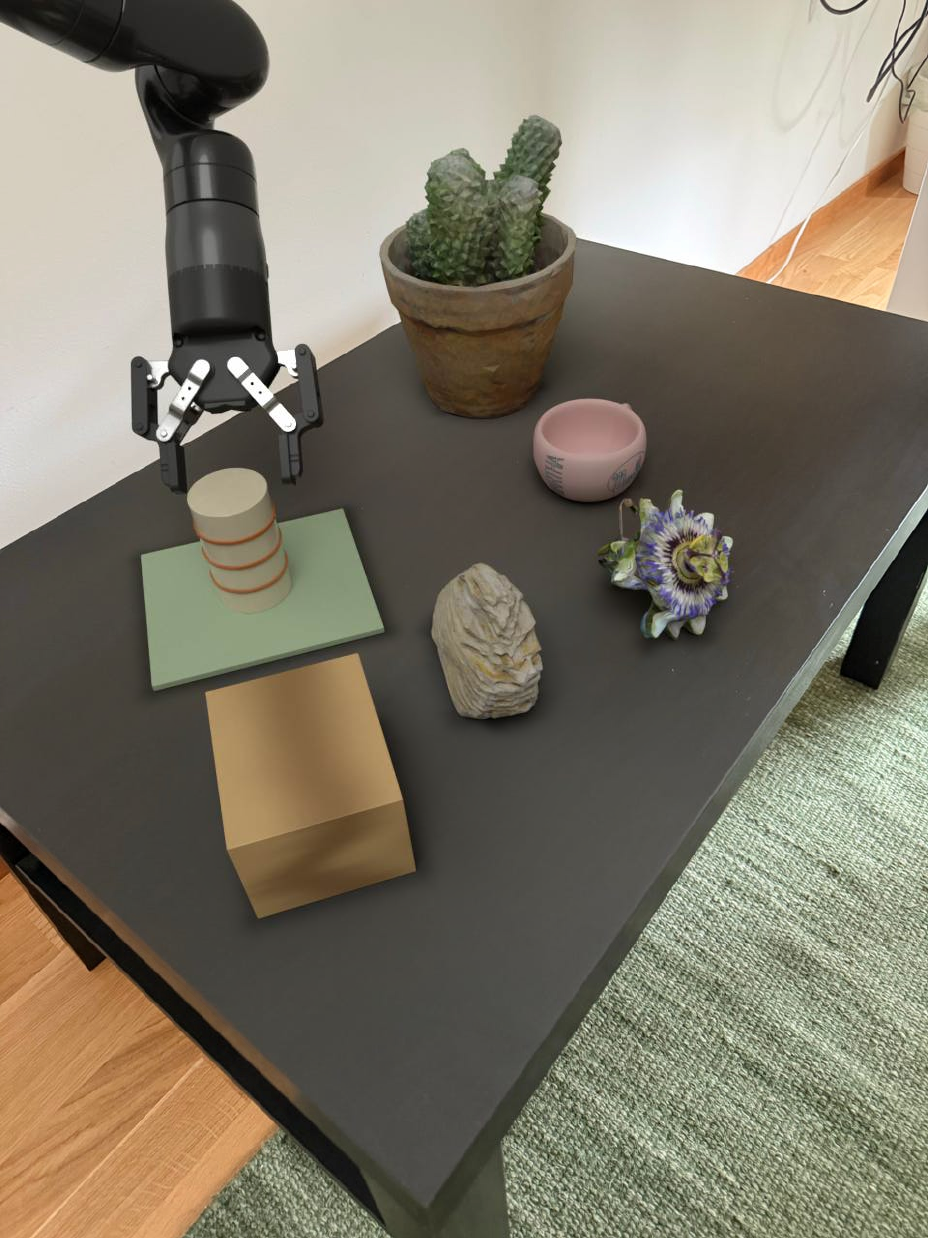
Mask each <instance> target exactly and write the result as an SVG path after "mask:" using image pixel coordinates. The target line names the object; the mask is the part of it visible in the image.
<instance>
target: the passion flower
mask: <svg viewBox="0 0 928 1238" xmlns="http://www.w3.org/2000/svg"><path fill="white" fill-rule="evenodd" d="M682 502H683V490H681V489H677V490H675V491H674V492H673V493H672V494H671V495H670V496H669V498H668V500H667V502H666V509H665V512H664V511H662V512H660V509H659V508H658V507H657V506H654V505H653V503H652V500H651V499H649V498H643V497H641V498H639V500H638V507H639V509H638V507H637V506H636V505H635V503H634V501H633V499H632V498H623V499H622V501H621V503H620V504H619V506H618V526H619V527H618V530H619V536H618V537H617V538H615V539H614V540H612V541H611V542H609V543H607V544H606V545H604V546H601V548H600V549H599V550H598V551H597V553H596V555H597V557H601V556H602V558H601V559H598V560H597V563H598V564H599V565H600V566H602V568H604V569H607V570H608V572H610V578H611V579H610V584H611V586H615V587H616V588H620V589H627V590H633V591H638V590H641V591H642V590H643V591H646V592H648V593H649V594H650V595H651V597H652V602H651V605H650V607H649V609H648V610H647V612H645V613H644V615H643V616H642V619H641V622H640V631H641V634H642V636H643V637H644V638H645V639H646V640H654V639H657V638H659V636H660V635H661V634H662V633H663V631H664V632H665V633H666V635H668V636H669V638H671V639H672V640H674V641H677V639H678V638H679V635H680V633H681V632H680V631H681V629H682V628H683V627H684V628H685V629H686V630H687V631H688V632H690V633H691V634H693V635H696V636H701V635H702V634H703V632H704V630H705V628H706V619H707V616H708V615H709V614H710V611H711V610H712V606H714V605H716V604H717V602H721V601H722V602H723V601H725V600H727V599H728V597H729V594H728V590H727V585H728V583H729V582H731V581H732V579H730V578H729V575H730V573H736V572H735V570H731V567H729V559H728V558H729V557H730V556H731V553H730V550H731V549H732V547H733V543H734V540H733V537H730V536H728V535H727V536H724V535H723V533H722V531H721V530H719V529H718V526H716V527H715V528H713V527H714V523H715V522H714V521H715V515H714V513H711V512H700V513H698V514H696V510H693V509H691V510H690V511H689V513H687V514H686V512H687V509H686V508H685V509H684V506H683V504H682ZM623 505H625V507H626V508H627V509H628V508H629V509H630V512H631V514H632V516H633V517H636V516H637V514H638V512H639V514H638V515H639V521H640V530H639V531H636V530H635V531H634V534H633V539H631V538H627V537H624V535H623V534H624V533H623V532H624V531H623V525H624V524H623V519H622V518H623ZM695 514H696V515H695ZM618 551H619V554H618ZM607 554H608V556H607V557H606V556H604V555H607ZM614 561H615V562H616V564H615V565H612V563H613V562H614Z"/></svg>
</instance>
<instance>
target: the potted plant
mask: <svg viewBox="0 0 928 1238" xmlns="http://www.w3.org/2000/svg"><path fill="white" fill-rule="evenodd" d="M517 128H518V129H517V131H516V132H513V133H512V138H510V141H511V147H509V148H507V149H506V154H507V157H504V163H500V164H498V167H499V170H498V171H496V170H495V171H492V175H493V179H486V176H487V175H486V174H487V171H485V169H483V168H482V167H481V164H480V163H477V162H476V160H475V159H474V158H473V157H472V156H471V155H470V152H469V150H468V149H466V148H465V147H459V148H457V149H453V150H451V151H450V152H449V153H447V154H446V155H444V156H442V157H439V158H437V159H434V160H433V161H431V162H430V166H429V168H428V170H427V172H426V176H427V181H426V182H425V185H424V187H423V189H424V190H425V192H426V195H425V196H424V198H425V200H426V201H427V202H428V204H427V205H426V208H423V209H421V210H419V211H418V212H415V213H414V212H412V215H411V216H410V217H409V218H408V220H405V223H404V224H403V225H401V226H399V227H397V228H396V229H394V230H393V231H392V232H390V233H389V234H388V235H387V236H385V238H384V239H383V241H382V243H380V246H379V253H378V255H379V256H378V257H379V261H380V265H381V270H382V274H383V277H384V283H385V287H386V290H387V293H388V297H389V300H390V303H391V305H393V307H394V308H395V309H396V310H397V313H398V316H399V319H400V322H401V325H402V329H403V331H404V334H405V337H406V340H407V342H408V345H409V347H410V351H411V353H412V355H413V358H414V360H415V362H416V365H417V367H418V369H419V372H420V374H421V377H422V380H423V382H424V385H425V387H426V389H427V392H428V395H429V397H430V398H431V400H432V401H433V402H434V404H435V405H436V406H437V407H439V408H440V410H441V411H442V412H444V413H445V412H446V413H449V414H453V415H456V416H461V417H465V418H468V419H494V418H500V417H504V416H508V415H511V414H514V413H516V412H519V411H521V410H522V409H523V408H525V406H527V405H528V404H529V403H531V401H532V399H533V397H534V396H535V394H536V393H537V390H538V389H539V386H540V383H541V380H542V377H543V373H544V371H545V368H546V365H547V363H548V359H549V356H550V353H551V351H552V347H553V344H554V341H555V338H556V337H555V336H556V333H557V329H558V326H559V323H560V321H561V319H562V318H563V314H564V313H563V312H564V308H565V307H564V306H565V302H566V299H567V297H568V295H569V293H570V291H571V289H572V287H573V285H574V270H575V253H576V247H577V244H578V238H577V235H576V233H575V231H574V230H573V228H572V227H570V226H568V225H567V224H565V223H564V222H562V221H561V220H559V219H558V218H556V217H555V216H553V215H552V214H551V215H550V214H547V213H545V212H542V211H544V207H545V206H544V203H545V202H546V201H547V199H548V197H549V195H550V193H551V191H552V190H551V189H550V188H549V187H548V186H547V185H548V184H549V182H551V180H552V178H551V177H552V176H553V173H552V171H554V169H556V167H557V164H555V160H557V159H559V156H560V148H561V146H563V139H562V135H561V131H560V127H558V126H557V125H555V124H554V123H553V122H551V121H549V120H547V119H545V118H543V117H542V116H540V115H538V114H531V115H530V114H529V116H528V118H523V119H522V122H521V124H519V125H518V127H517Z"/></svg>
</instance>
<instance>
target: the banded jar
mask: <svg viewBox="0 0 928 1238" xmlns="http://www.w3.org/2000/svg"><path fill="white" fill-rule="evenodd" d="M271 497H272V496H271V493H270V490H269V486H268V483H267V480H266V479H265V477H264V476H263V475H262V474H260V473H259V472H257V471H256V470H252V469H249V468H246V467H245V468H243V467H230V468H223V469H220V470H216V471H212V472H211V473H208V474H206V475H204V476H202V477H201V478H200V479H198V480H197V481H195V483H194V484H192V486H191V487H190V489H189V490H188V491H187V496H186V503H187V505H188V508H189V511H190V514H191V517H192V525H193V530H194V532H195V534H196V535H197V536H198V538H199V541H201V544H202V553H203V556H204V558H205V559H206V561H207V562H208V565H209V568H210V576H211V579H212V581H213V583H214V584H215V585H216V588H217V591H218V594H219V597H220V600H221V602H222V603H223V604H224V605H225V606H226V607H227V608H228V609H230V610H232V611H235V612H239V613H257V612H262V611H265V610H268V609H270V608H272V607H274V606H276V605H278V604H279V603H280V602H282V601H283V600H284V599H285V598H286V597H287V595H288V594H289V592H290V590H291V586H292V579H291V575H290V571H289V567H288V556H287V553H286V551H285V550H284V548H283V544H282V532H281V530H280V528H279V526H278V525H277V523H278V521H277V517H276V516H277V509H276V506H275V503H274V502H273V500H272V499H271Z"/></svg>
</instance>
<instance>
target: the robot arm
mask: <svg viewBox="0 0 928 1238" xmlns="http://www.w3.org/2000/svg"><path fill="white" fill-rule="evenodd" d="M0 23H1V24H3V25H5V26H7V27H9V28H12V29H13V30H15V31H18V32H20V33H22V34H23V35H25V36H28V37H29V38H32V39H34V40H36V41H37V42H40V43H42V44H43V45H46V46H48V47H50V48H52V49H55V50H57V51H59V52H61V53H62V54H65V55H67V56H69V57H71V58H73V59H75V60H77V61H79V62H81V63H84V64H85V65H88V66H90V67H92V68H95V69H98V70H101V71H104V72H108V73H123V72H127V71H130V70H134V84H135V85H134V86H135V91H136V94H137V98H138V101H139V105H140V107H141V110H142V113H143V115H144V119H145V122H146V124H147V128H148V131H149V133H150V137H151V140H152V143H153V145H154V148H155V151H156V153H157V156H158V159H159V162H160V164H161V167H162V183H163V185H162V186H163V197H164V210H165V211H164V213H165V236H164V237H165V239H164V243H165V244H164V251H165V269H166V279H167V280H166V281H167V291H168V292H167V293H168V304H169V305H168V306H169V317H170V318H169V319H170V332H171V342H172V350H171V353H170V356H169V358H168V360H166V359H164V360H147V359H146V358H145V357H143V356H142V355H141V356H140V355H137V356H134V357H133V358H132V359H131V361H130V399H131V400H130V402H131V403H130V404H131V406H130V409H131V430H132V432H133V433H134V434H135V435H137V436H139V437H141V438H143V439H144V440H146V441H149V442H155V443H156V444H157V445H158V451H159V453H158V454H159V462H160V464H159V465H160V478H161V480H162V483H163V485H164V486H166V487H169V490H170V492H171V493H173V494H175V495H186V494H187V495H188V480H187V468H186V454H185V453H186V452H185V447H184V446H183V445H181V444H182V442H183V440H184V439H185V438H186V436H187V434H189V431H190V429H191V428H192V427H193V426H195V425H196V424H198V421H200V418H201V417H202V415H203V413H204V411H205V412H206V413H209V414H211V415H219V414H225V413H227V412H230V411H235V412H239V413H247V412H252V410H253V409H254V408H256V407H257V406H259V405H260V406H261V408H263V410H264V411H265V412H266V413H267V414H268V415H269V416H270V417H271V418H272V420H273V421H274V422H275V423H276V424H277V425H278V426H279V428H280V433H281V434H280V433H279V434H278V435H277V437H278V438H277V439H278V452H279V464H280V465H279V466H280V476H281V483H282V485H284V486H285V487H296V486H297V479H301V478H302V476H303V473H304V465H303V450H302V437H303V435H304V434H305V433H306V432H308V431H310V430H312V429H319V428H322V426H323V425H324V422H325V418H324V411H323V410H324V409H323V403H322V397H321V389H320V388H321V387H320V381H319V374H318V368H317V362H316V361H317V360H316V356H315V355H314V352H313V351H312V350H311V348H310V346H308V345H307V344H306V343H299V344H297V345H296V346H295V347H294V349H293V348H292V349H286V350H280V351H276V348H275V345H274V341H273V330H272V329H273V328H272V317H271V316H272V315H271V303H270V302H271V301H270V289H269V279H270V274H269V273H270V271H269V264H268V262H267V253H266V251H267V250H266V245H265V241H264V236H263V231H262V225H261V220H260V219H261V218H260V206H259V194H258V178H257V177H258V176H257V169H256V163H255V160H254V156H253V153H252V151H251V149H250V148H249V146H248V145H247V143H246V142H245V141H244V140H242V139H241V138H240V137H238V136H236V135H234V134H233V133H230V132H227V131H224V130H219V129H215V123H216V119H218V118H220V117H221V116H223V115H225V114H227V113H228V112H230V111H232V110H234V109H236V108H237V107H239V106H241V105H244V104H245V103H247V102H248V101H250V100H252V99H253V98H254V97H255V96H256V95H258V94H259V93H260V92H261V91H262V90H263V88H264V86H265V85H266V83H267V80H268V77H269V73H270V67H271V66H270V65H271V61H270V60H271V59H270V52H269V48H268V44H267V42H266V39H265V37H264V35H263V33H262V31H261V30H260V27H259V26H258V24H257V23H256V22H255V20H254V19H253V17H252V16H250V14H249V13H248V12H247V11H246V10H245V9H244V8H243V7H242V5H241V6H240V5H239V4H238V3H237V2H236V1H234V0H0ZM281 367H283V368H286V370H287V372H288V373H289V375H290V376H291V377H292V379H294V380H298V388H299V396H300V402H301V411H299V412H296V413H295V414H292V415H291V413H290V412H289V411H288V410H287V409H286V408H285V407H284V405H283V404H281V402H280V401H279V400H278V398H276V396H275V395H274V394H273V393H272V392H271V391H270V387H271V385H272V384H273V382H274V381H275V379H276V377H277V376H278V374H279V372H280V371H281V369H282V368H281ZM170 376H171V378H172V379H174V381H175V383H177V384H178V386H179V387H180V388H179V390H178V391H177V392H176V394H175V396H174V397H173V398H172V400H171V402H170V404H169V406H168V411H167V413H166V415H165V416H164V418H163V419H162V421H161V423H160V424H159V404H158V403H159V401H158V397H159V396H158V395H159V393H158V392H159V391H160V390H162V389H163V388H164V386H165V382H166V379H167V378H168V377H170Z"/></svg>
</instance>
